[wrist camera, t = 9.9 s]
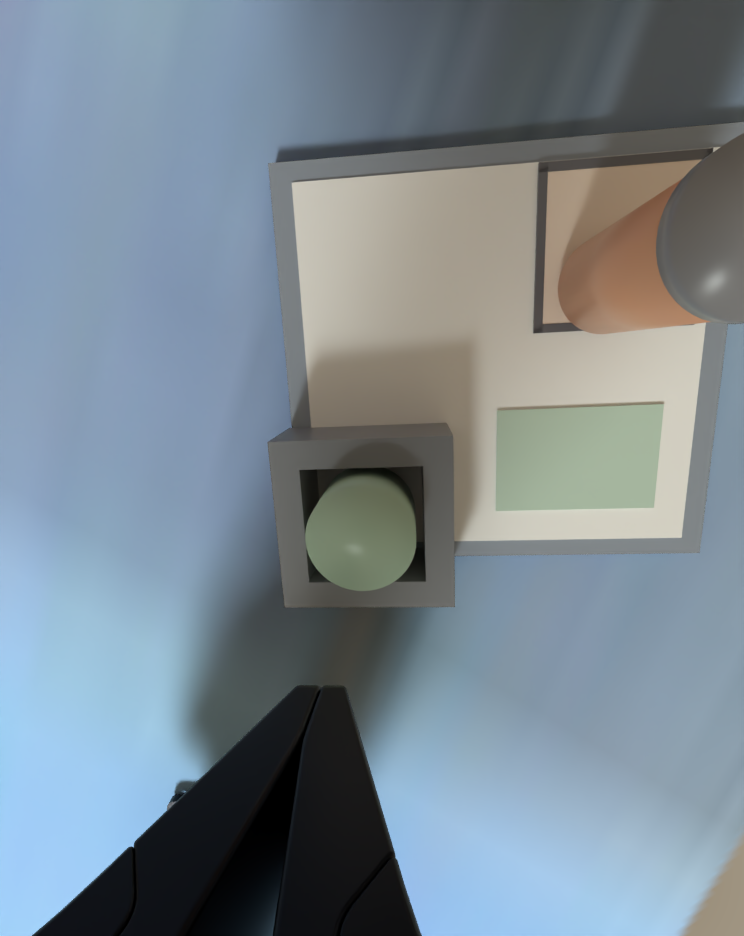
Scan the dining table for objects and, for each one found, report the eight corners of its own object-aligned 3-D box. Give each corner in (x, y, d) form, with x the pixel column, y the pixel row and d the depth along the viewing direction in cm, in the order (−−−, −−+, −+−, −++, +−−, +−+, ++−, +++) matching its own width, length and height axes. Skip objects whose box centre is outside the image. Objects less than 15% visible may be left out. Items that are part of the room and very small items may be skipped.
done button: (416, 552, 18) (417, 590, 15) (325, 553, 19) (309, 591, 16) (413, 462, 17) (414, 485, 15) (318, 465, 18) (300, 487, 15)
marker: (645, 335, 17) (850, 317, 9) (547, 340, 17) (663, 326, 9) (655, 231, 16) (887, 113, 8) (552, 238, 16) (682, 129, 8)
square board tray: (688, 560, 19) (750, 605, 16) (305, 564, 21) (284, 607, 17) (740, 129, 16) (834, 66, 12) (270, 169, 17) (234, 123, 14)
